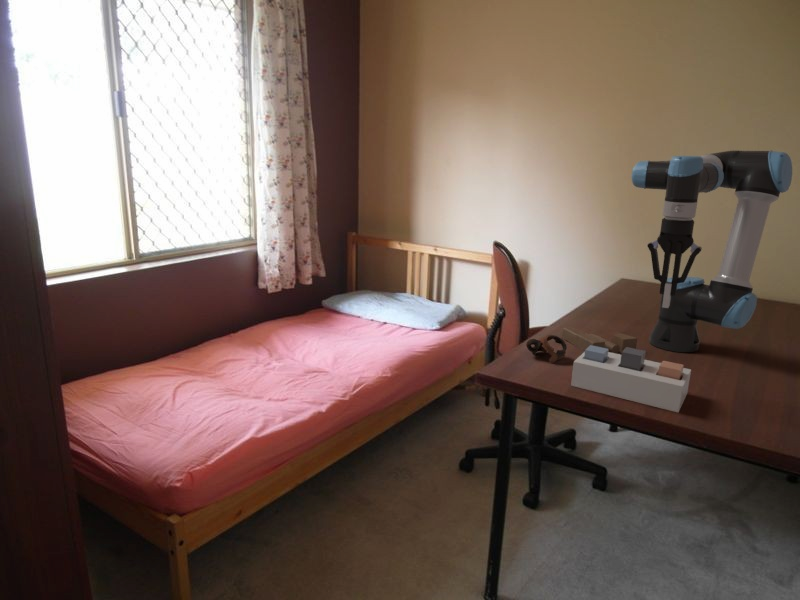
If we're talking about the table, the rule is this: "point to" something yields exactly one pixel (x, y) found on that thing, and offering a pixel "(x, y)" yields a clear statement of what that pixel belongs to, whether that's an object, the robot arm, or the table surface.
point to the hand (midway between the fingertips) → (665, 306)
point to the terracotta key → (670, 370)
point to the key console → (631, 382)
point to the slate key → (596, 354)
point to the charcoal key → (632, 359)
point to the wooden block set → (598, 340)
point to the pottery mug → (547, 347)
